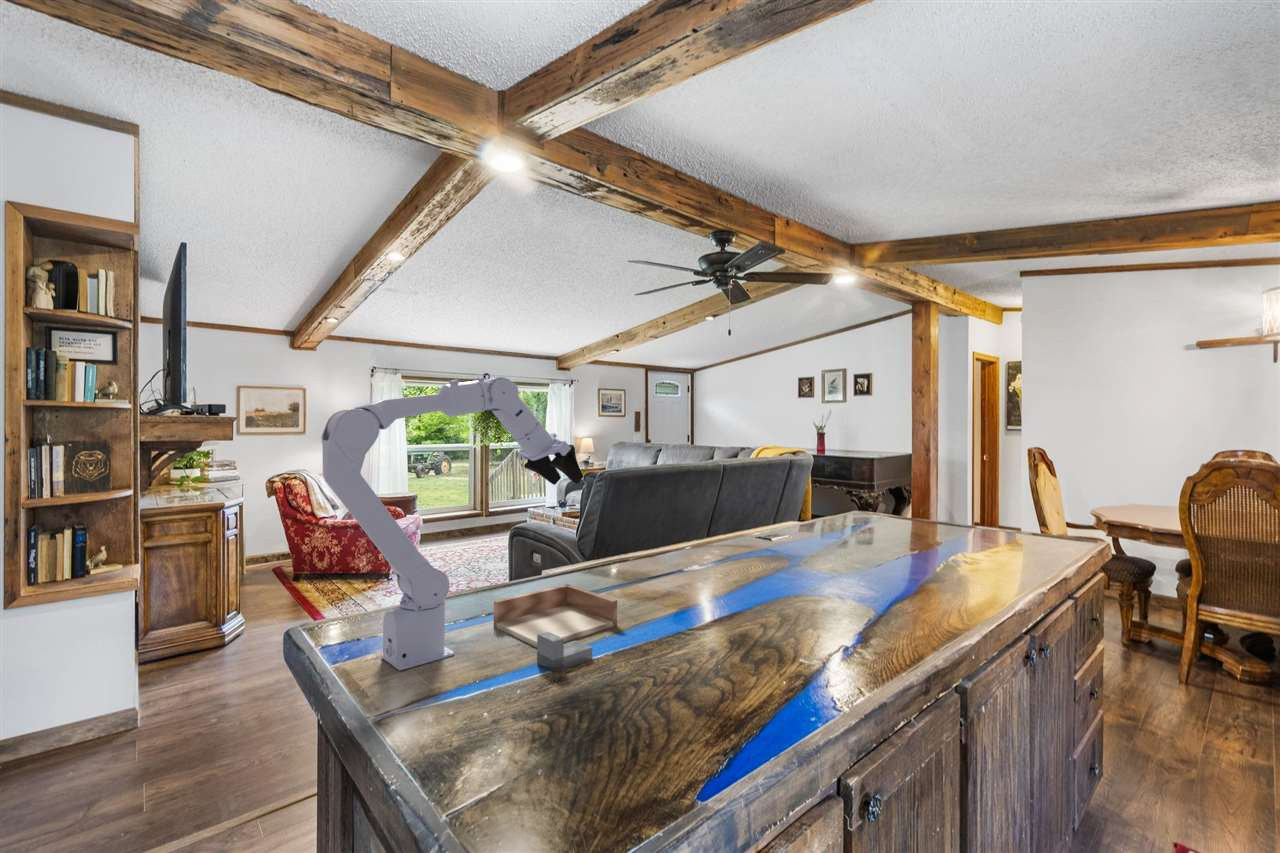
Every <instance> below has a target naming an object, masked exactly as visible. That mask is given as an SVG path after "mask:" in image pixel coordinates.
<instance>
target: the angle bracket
mask: <svg viewBox="0 0 1280 853" xmlns="http://www.w3.org/2000/svg"><path fill="white" fill-rule="evenodd" d="M536 648H537V650H536V652H537V653H536V665H538V666H540V667H542V668H544V669H545V670H547V671H549V672H551V673H556V672H560V671H562V670H565V669H569V668H570V667H573V666H576V665H579V664H581V663H584V662H587V661H591V660H593V647H592V646H590V645H587V644H585V643H583V642H580V641H578V640H576V639H574V640H571V641H568V642H566V643H565V642H564V638H561V637H559V636H557V635H555V634H552V633H550V632H548V631H547V632H543V633H540V634H537V647H536Z"/></svg>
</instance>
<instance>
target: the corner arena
mask: <svg viewBox="0 0 1280 853" xmlns="http://www.w3.org/2000/svg"><path fill="white" fill-rule="evenodd" d="M617 626H618V600H617V599H615V598H611V597H608V596H605V595H602V594H599V593H596V592H594V591H589V590H586V589H584V588H582V587H578V586H575V585H572V584H568V583H566V584H562V585H557V586H554V587H550V588H545V589H541V590H537V591H532V592H527V593H523V594H519V595H514V596H510V597H506V598H500V599H497V600H493V627H494V628H496V629H498V630H500V631H502V632H504V633H505V634H508V635H510V636H512V637H514V638H516V639H519V640H521V641H522V642H525V643H526V644H529V645H530V646H533V647H535V648H537V634H540V633H543V632H547V631H548V632H550V633H552V634H555V635H557V636H559V637H561V638H564V643H565V642H566V643H567V642H571V641H574V640H576V639H578V638H582V637H584V636H585V637H586V636H589V635H590V634H591V635H593V634H595V633H598V632H601V631H603V630H607V629H610V628H614V627H617Z"/></svg>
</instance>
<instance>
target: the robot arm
mask: <svg viewBox="0 0 1280 853" xmlns="http://www.w3.org/2000/svg"><path fill="white" fill-rule="evenodd" d="M519 394H520V392H519V388H518V386H517V384H516V382H514V381H512V380H510V379H509V378H506V377H503V376H500V377H499V376H498V377H492V378H485V377H484V376H481V377H477V378H476V380H472V381H463V382H459V379H453V380H449V381H448V383H447V384H443V385H442V386H441V388H440V389H439V390H438V391H437V392H436V393H432V394H431V393H430V394H425V395H424V394H423V395H416V396H415V395H413V396H408V397H406V396H405V397H399V398H398V397H396V398H388V399H382V400H376V401H373V402H369V403H366V404H361V405H359V406H356V407H353V408H352V409H343V410H342V409H341V410H338V411H337V412H334V413H333V414H332V415H331V416H330V417H329V418H328V419H327V422H326V424H325V427H324V429H323V432H322V434H321V444H322V446H321V447H322V477H323V479H324V481H325V483H327V485H328V486H329V487H330V489H331V490H332V492H333V493H334V495H335V496H336V497H337V498H338V499H339V501H340V502H341V503H342V504H343V506H344V507H345V508H346V510H348V512H349V513H350V515H351V516H352V517H353V518H354V520H355V521H356V523H357V524H358V526H360V528H361V529H362V530H363V531H364V533H365V534H366V535H367V536H368V538H369V539H370V540H371V542H372V543H373V544H374V546H375V547H376V548H377V549H378V551H379V552H380V553H381V555H382V556H383V557H384V558H385V560H386V561H387V563H389V566H390V568H391V570H392V571H393V572H394V574H395V576H396V581H397V586H398V588H399V590H400V591H401V592H402V593H403V594H402V597H401V599H400V601H399V606H397V607H396V608H394V609H390V610H388V611H386V612H384V616H383V621H382V623H383V624H382V654H381V655H380V656H381V658H382V659H383V660H385V661H386V662H387V663H388V664H390V665H392V666H393V667H394V668H395V669H397V670H398V671H403V670H407V669H409V668H413V667H417V666H421V665H424V664H429V663H432V662H435V661H438V660H442V659H447V658H449V657H453V656H454V655H455V652H454V651H453V650H451V649H449V648H448V647H447V646H445V644H446V642H445V638H446V637H445V636H446V635H445V634H446V633H445V630H446V629H445V628H446V626H445V625H446V623H445V622H446V619H445V618H446V610H445V609H446V597H447V595H448V594H449V590H450V579H449V577H448V576H447V574H446V573H445V572H443V571H442V570H440V569H438V568H435V567H434V566H433V565H432V564H431V562H429V561H428V559H427V558H426V557H425V556H424V555H423V554H422V553H421V552H420V551H419V550H418V549H417V548H416V546H415V544H414V543H413V542H412V541H411V539H410V538H409V536H407V534H406V533H405V531H404V530H403V529H402V527H401V525H399V524H398V522H397V521H396V519H395V518H394V517H393V515H392V514H391V512H390V511H389V510H388V509H387V507H386V506H385V504H384V503H383V502H382V501H381V500H380V498H379V496H378V495H377V493H375V491H374V490H373V488H372V487H371V486H370V485H369V484H368V482H367V480H366V479H365V478H364V477H363V475H362V473H361V472H362V468H363V465H364V462H365V459H366V455H367V453H368V452H369V451H370V449H371V448H372V447H373V446H374V444H375V443H376V440H377V439H378V437H379V435H380V430H387V429H388V428H389V427H390V426H391V425H392V424H393V423H394V422H395V421H396V420H399V419H404V418H410V417H414V416H420V415H425V414H431V413H435V412H437V413H438V412H441V413H443V414H444V415H446V417H450V418H452V417H457V416H463V415H470V414H475V413H476V414H477V413H481V412H484V411H486V410H487V411H491V412H492V413H493V415H494V416H495V417H496V418H497V419H498V422H500V424H501V425H502V426H503V427H504V428H505V430H506V431H507V432H508V433H509V434H510V436H511V437H512V438H513V439H514V440H515V442H516V443H517V444H518V445H519V446H520V447H521V449H520V450H519V451H518V452H517V453H518V454H519V456H520V457H521V458H522V459H523V460H526V461H527V462H526V463H525V464H524V466H523V467H524V468H525V469H527V470H529V471H532V472H533V473H536V474H538V475H539V476H540V477H542V478H544V479H545V480H546V481H547V482H549V483H550V484H552V485H553V486H556V485H557V483H558V482H559V481H560V480H561V479H562V477H561V474H560V472H561V473H563V474H564V475H565V476H566V477H567V478H568V479H569V480H570V481H571V482H572V483H574V484H576V485H578V484H579V483H580V482H581V481H582V480H583V478H584V475H583V472H582V470H581V468H580V465H579V463H578V460H577V456H576V447H575V446H574V445H573V444H568V443H567V441H566V440H560V439H557V437H558V435H557V434H556V433H555V432H554V433H553V432H552V433H549V432H548V430H547V429H546V428H545V427H544V426H543V424H542V423H541V422H540V420H539V419H538V418H537V417H536V415H534V413H533V412H532V411H531V409H530V408H529V407H528V406H527V404H526V403H525V402H524V401H523V400H522V399H521V397H520V396H519ZM551 455H553V456H555V457H553V459H551V457H550V456H551ZM558 470H559V471H560V472H559V471H558Z"/></svg>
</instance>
